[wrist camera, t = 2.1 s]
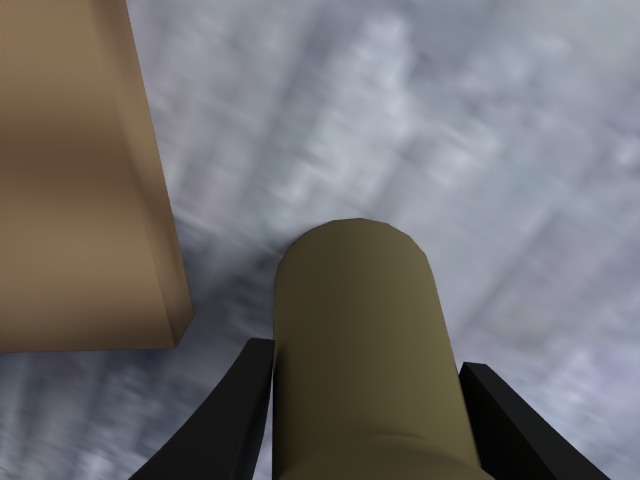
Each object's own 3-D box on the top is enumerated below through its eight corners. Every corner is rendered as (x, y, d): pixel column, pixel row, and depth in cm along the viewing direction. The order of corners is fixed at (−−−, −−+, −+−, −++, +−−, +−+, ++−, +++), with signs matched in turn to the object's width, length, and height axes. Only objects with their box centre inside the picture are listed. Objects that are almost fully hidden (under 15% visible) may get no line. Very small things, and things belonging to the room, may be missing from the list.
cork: (242, 301, 14) (39, 836, 4) (344, 183, 12) (419, 650, 2) (360, 378, 16) (417, 913, 6) (467, 283, 14) (846, 841, 4)
